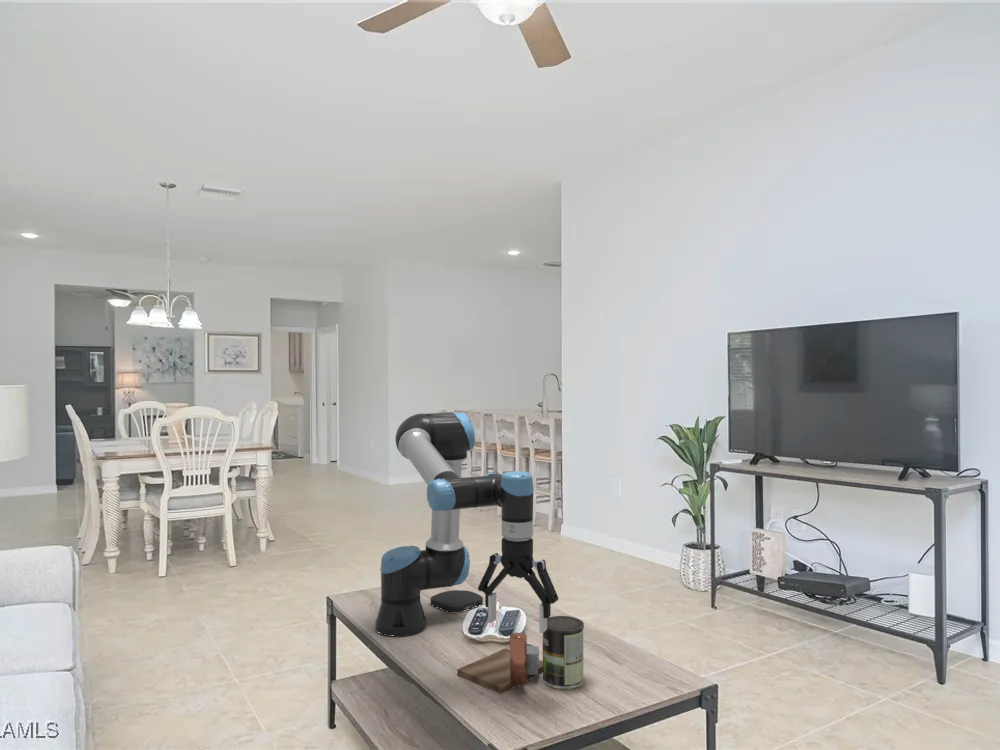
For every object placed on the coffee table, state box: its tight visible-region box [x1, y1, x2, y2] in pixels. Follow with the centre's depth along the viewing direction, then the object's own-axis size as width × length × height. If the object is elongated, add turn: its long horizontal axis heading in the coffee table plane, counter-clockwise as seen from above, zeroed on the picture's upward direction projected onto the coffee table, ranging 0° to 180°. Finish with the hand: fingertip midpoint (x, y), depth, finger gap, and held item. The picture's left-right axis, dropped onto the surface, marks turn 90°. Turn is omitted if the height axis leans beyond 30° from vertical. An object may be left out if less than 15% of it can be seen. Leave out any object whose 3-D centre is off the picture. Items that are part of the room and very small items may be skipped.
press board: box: [456, 647, 543, 694], centre depth 171 cm, size 15×18×2 cm
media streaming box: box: [430, 589, 484, 613], centre depth 224 cm, size 15×15×3 cm
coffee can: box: [541, 615, 585, 690], centre depth 166 cm, size 10×10×14 cm
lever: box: [509, 632, 540, 687], centre depth 167 cm, size 18×7×11 cm, turn 173°
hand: (517, 626), depth 161 cm, fingers open, 13 cm apart
